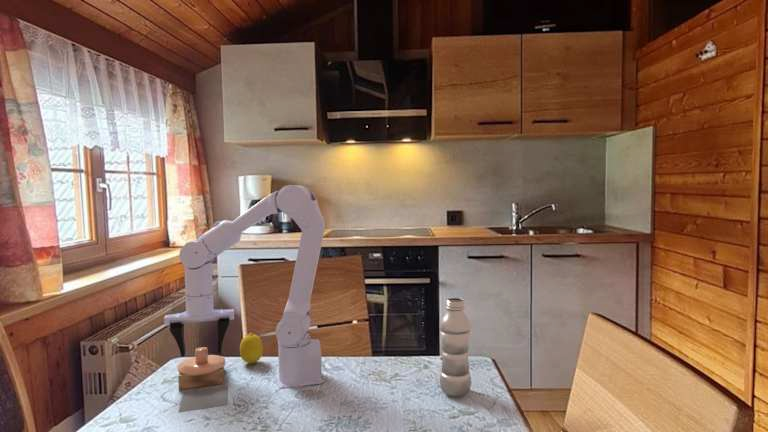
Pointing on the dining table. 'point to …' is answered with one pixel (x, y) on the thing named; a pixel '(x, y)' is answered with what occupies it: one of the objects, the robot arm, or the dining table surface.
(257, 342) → the lemon
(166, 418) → the dining table surface
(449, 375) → the plastic bottle
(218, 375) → the wooden open tray
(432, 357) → the dining table surface
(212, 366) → the lid
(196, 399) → the mat
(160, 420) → the dining table surface
